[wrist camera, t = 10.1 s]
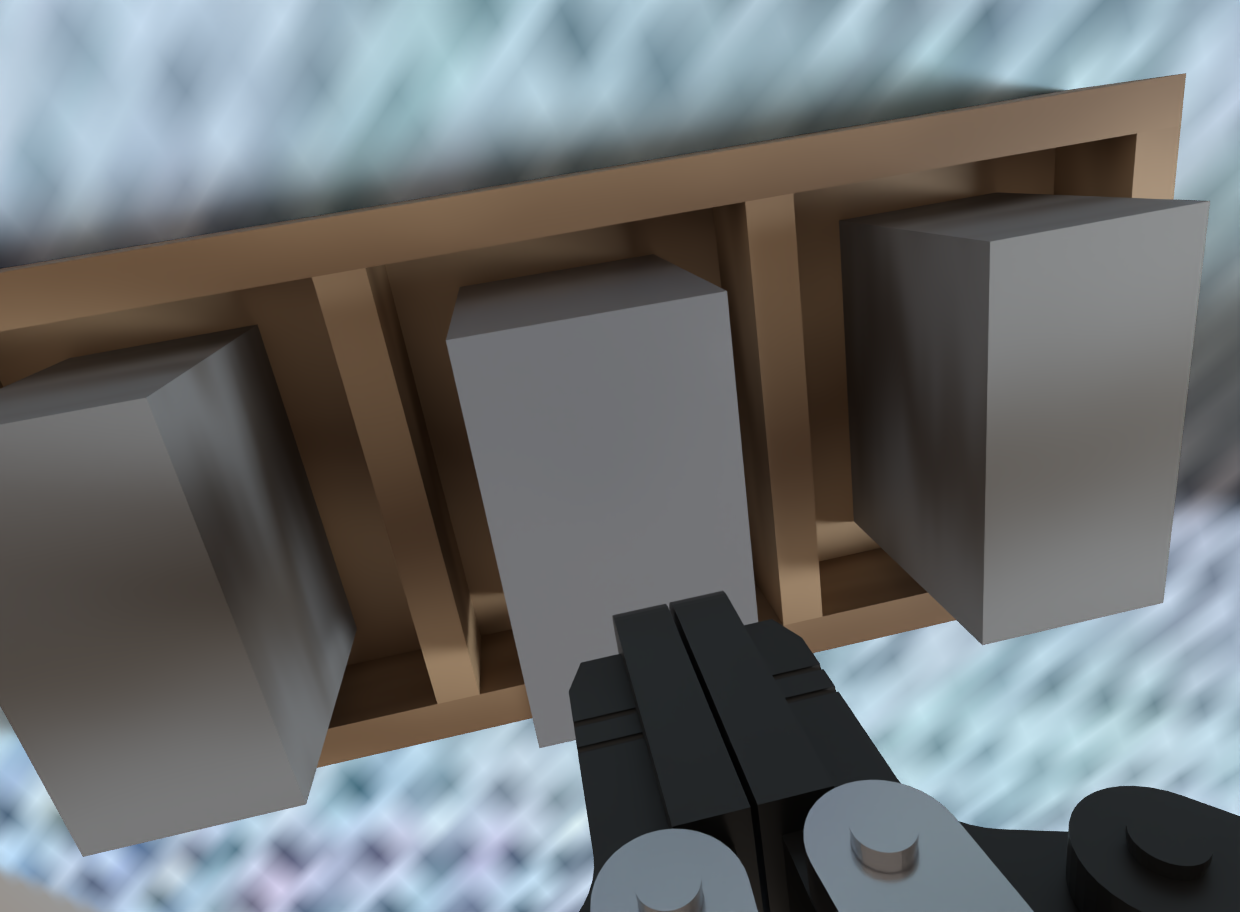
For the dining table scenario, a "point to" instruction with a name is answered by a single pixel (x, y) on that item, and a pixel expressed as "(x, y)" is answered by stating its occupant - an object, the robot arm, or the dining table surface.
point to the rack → (443, 463)
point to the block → (602, 456)
